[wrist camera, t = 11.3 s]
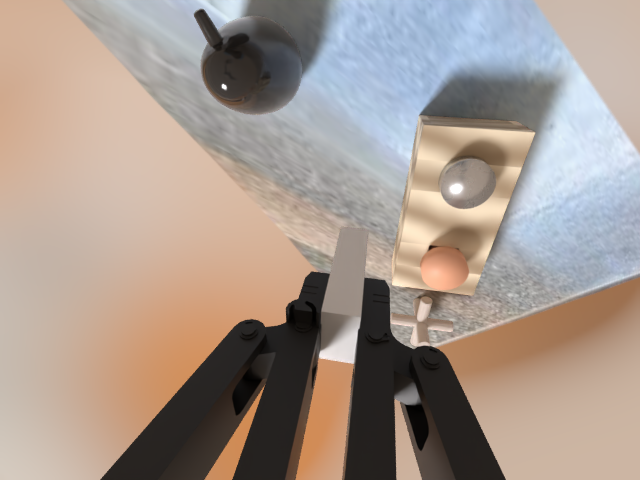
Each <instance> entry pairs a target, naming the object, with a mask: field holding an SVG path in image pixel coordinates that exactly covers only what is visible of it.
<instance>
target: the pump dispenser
mask: <svg viewBox="0 0 640 480" xmlns="http://www.w3.org/2000/svg"><path fill="white" fill-rule="evenodd" d="M194 17H195V19H196V21H197V23H198V25H199V26H200V28H201V30H202V32H203V34H204V36H205V38H206V40H207V42H208V43H207V45H206V47H205V49H204V51H203V54H202V58H201V75H202V79H203V82H204V84H205V86H206V88H207V90H208V91H209V93H210V94H211V95H212V96H213V97H214V98H215V99H216V100H217V101H218V102H219V103H221V104H222V105H224V106H226V107H228V108H230V109H232V110H234V111H237V112H240V113H244V114H250V115H262V114H268V113H272V112H275V111H278V110H280V109H281V108H283V107H285V106H286V105H287V104H288V103H289V102H290V101H291V100H292V99H293V98H294V96H295V95H296V93H297V91H298V89H299V86H300V83H301V78H302V61H301V56H300V52H299V49H298V47H297V45H296V43H295V41H294V39H293V38H292V36H291V35H290V33H289V32H288V31H287V30H286V29H285V28H284V27H283V26H282V25H280V24H279V23H277V22H276V21H274V20H272V19H269V18H266V17H262V16H246V17H241V18H238V19H235V20H232V21H230V22H228V23H226V24H225V25H223V26H222V27H221V28H219V29H218V30H217V28H216V27H215V25H214V24H213V22H212V21H211V19H210V18H209V16H208V14H207V13H206V11H205V10H204V9H198V10H196V11H195V13H194Z"/></svg>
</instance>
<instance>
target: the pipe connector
mask: <svg viewBox="0 0 640 480" xmlns="http://www.w3.org/2000/svg"><path fill="white" fill-rule="evenodd" d="M431 305H432V299H431V298H429V297H426V296H425V297H422V298H421V299H420V298H416V299H414V300H413V306H414V315H415V316H410V315H402V314H395V313H391V318H390V323H391V324H398V325H405V326H412V327H414V329H413V333H412V336H411V340H410V342H411V344H413V345H414V346H418V347H419V346H423V345H426V346H430V342H429V335H428V329H433V330H440V331H448V332H452V331H453V322H452V321H447V320H439V319H432V318H428V316H429V312H430V309H431Z"/></svg>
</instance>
